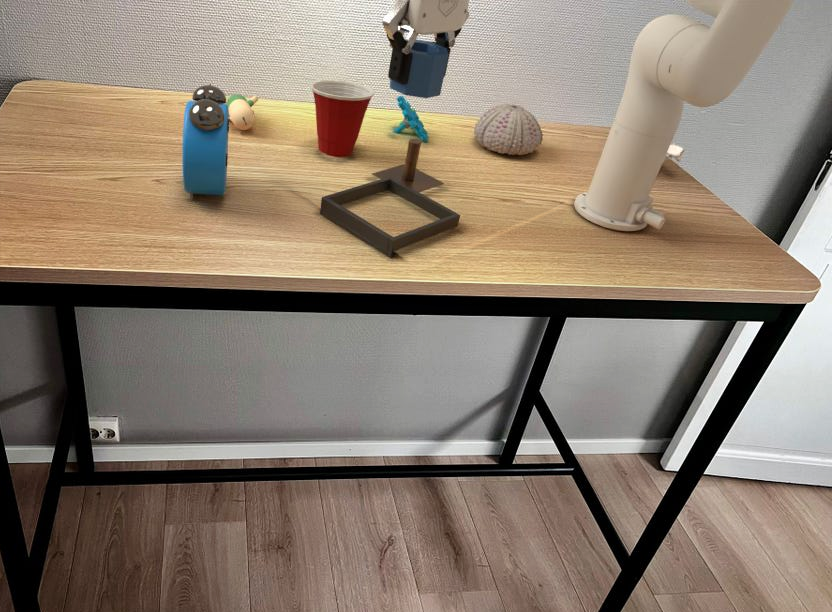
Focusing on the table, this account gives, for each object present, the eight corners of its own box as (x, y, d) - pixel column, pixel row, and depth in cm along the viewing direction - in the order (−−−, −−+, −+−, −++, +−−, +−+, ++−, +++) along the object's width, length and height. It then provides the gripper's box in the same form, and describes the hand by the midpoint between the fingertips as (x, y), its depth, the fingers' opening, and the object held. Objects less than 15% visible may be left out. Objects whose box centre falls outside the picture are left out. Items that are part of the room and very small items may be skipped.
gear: (431, 144, 134) (401, 98, 131) (405, 162, 136) (374, 117, 133) (432, 131, 144) (404, 88, 140) (408, 148, 146) (379, 106, 143)
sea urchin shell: (459, 144, 141) (468, 103, 136) (488, 128, 150) (498, 89, 145) (521, 167, 136) (533, 125, 131) (547, 148, 145) (560, 109, 140)
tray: (456, 231, 112) (460, 215, 110) (390, 258, 103) (393, 240, 101) (387, 192, 120) (389, 176, 118) (319, 213, 111) (321, 196, 109)
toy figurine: (220, 121, 139) (229, 143, 130) (210, 99, 136) (218, 120, 127) (259, 104, 139) (271, 124, 130) (250, 81, 136) (261, 101, 127)
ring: (449, 93, 101) (458, 52, 98) (416, 100, 97) (424, 58, 94) (412, 77, 105) (420, 37, 101) (379, 83, 101) (385, 41, 97)
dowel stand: (443, 188, 124) (453, 146, 119) (408, 200, 118) (417, 156, 114) (405, 168, 128) (413, 126, 124) (369, 179, 123) (376, 135, 118)
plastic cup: (353, 141, 135) (362, 76, 127) (372, 167, 127) (383, 98, 120) (297, 141, 131) (303, 74, 124) (313, 167, 123) (320, 97, 116)
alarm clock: (189, 170, 116) (189, 75, 107) (228, 174, 117) (231, 79, 108) (182, 209, 106) (181, 107, 97) (225, 212, 107) (228, 111, 98)
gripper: (419, -62, 82) (393, 95, 93) (509, -63, 92) (476, 79, 103) (373, -77, 86) (353, 76, 97) (464, -76, 96) (437, 62, 107)
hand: (416, 76), depth 100 cm, fingers closed on ring, 7 cm apart
